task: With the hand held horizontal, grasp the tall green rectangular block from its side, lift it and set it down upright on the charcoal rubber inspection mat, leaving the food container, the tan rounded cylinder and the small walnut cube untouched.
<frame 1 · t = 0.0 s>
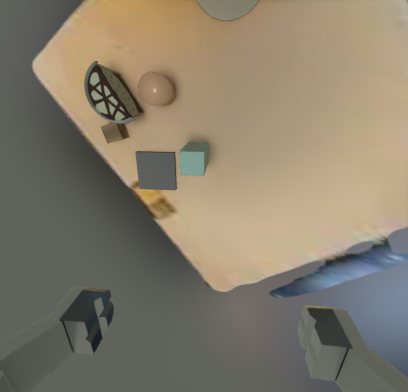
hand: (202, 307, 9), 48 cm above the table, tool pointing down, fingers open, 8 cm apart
inspection mat: (157, 170, 58), on the table
food container: (123, 100, 52), on the table
tall green rectangular block: (198, 152, 55), on the table
tan rounded cylinder: (163, 91, 51), on the table
walnut cube: (119, 131, 55), on the table
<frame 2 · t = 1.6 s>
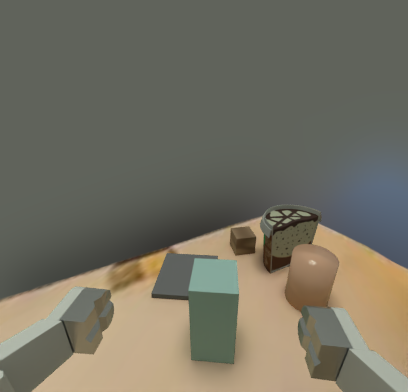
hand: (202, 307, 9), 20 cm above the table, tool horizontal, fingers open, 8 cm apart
inspection mat: (188, 276, 39), on the table
food container: (277, 256, 44), on the table
tall green rectangular block: (213, 340, 28), on the table
tan rounded cylinder: (305, 297, 34), on the table
walnut cube: (241, 248, 46), on the table
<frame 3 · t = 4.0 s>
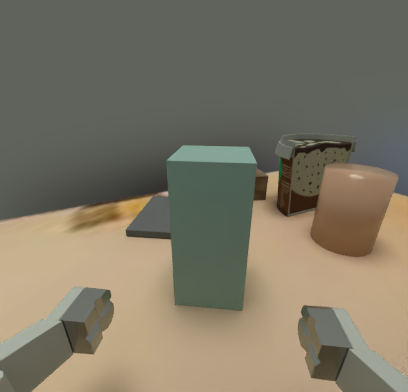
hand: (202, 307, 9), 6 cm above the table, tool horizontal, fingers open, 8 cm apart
inspection mat: (178, 217, 29), on the table
food container: (295, 203, 34), on the table
tall green rectangular block: (210, 282, 19), on the table
tan rounded cylinder: (339, 239, 25), on the table
walnut cube: (248, 195, 37), on the table
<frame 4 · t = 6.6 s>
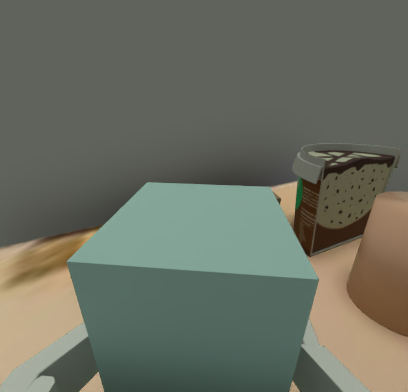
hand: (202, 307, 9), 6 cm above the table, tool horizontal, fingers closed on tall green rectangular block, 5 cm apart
food container: (316, 233, 26), on the table
tan rounded cylinder: (391, 301, 17), on the table
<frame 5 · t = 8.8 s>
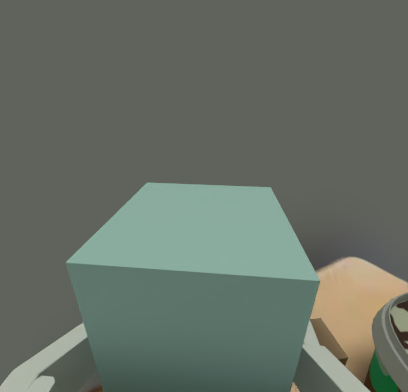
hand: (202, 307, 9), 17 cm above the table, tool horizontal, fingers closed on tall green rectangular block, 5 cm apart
walnut cube: (306, 364, 23), on the table
when the fingers open (8 cm above the table, at t = 11.3 s): tall green rectangular block drops 1 cm, resting on inspection mat.
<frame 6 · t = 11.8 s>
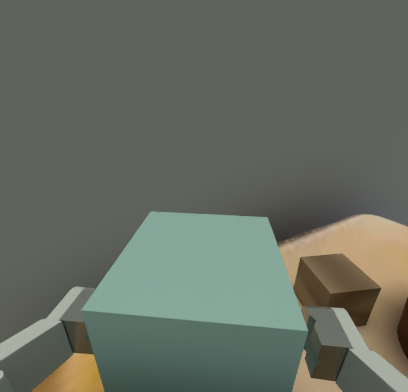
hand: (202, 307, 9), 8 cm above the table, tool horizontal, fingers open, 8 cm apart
walnut cube: (326, 307, 19), on the table
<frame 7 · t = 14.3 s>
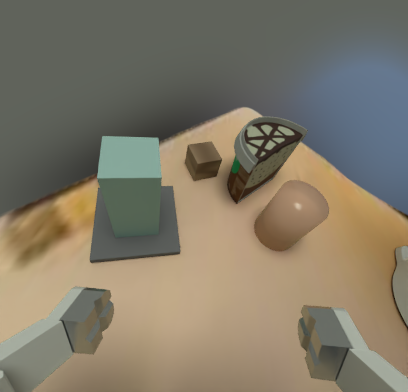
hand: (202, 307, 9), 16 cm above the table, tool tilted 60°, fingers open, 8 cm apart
inspection mat: (137, 220, 29), on the table
food container: (242, 179, 37), on the table
tall green rectangular block: (137, 218, 28), point 1 cm above the table, touching inspection mat
tan rounded cylinder: (274, 231, 32), on the table
walnut cube: (200, 169, 36), on the table
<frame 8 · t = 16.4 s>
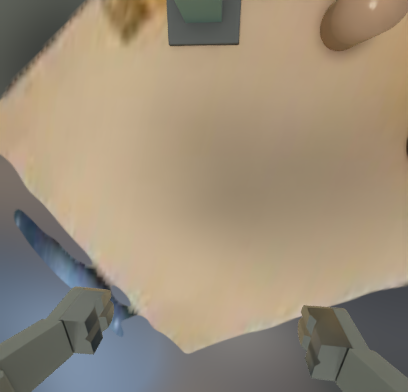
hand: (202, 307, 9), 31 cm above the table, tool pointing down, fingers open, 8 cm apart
inspection mat: (203, 1, 30), on the table
tan rounded cylinder: (343, 24, 30), on the table
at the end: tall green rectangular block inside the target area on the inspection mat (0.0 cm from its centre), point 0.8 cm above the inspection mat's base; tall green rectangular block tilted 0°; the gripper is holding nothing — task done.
